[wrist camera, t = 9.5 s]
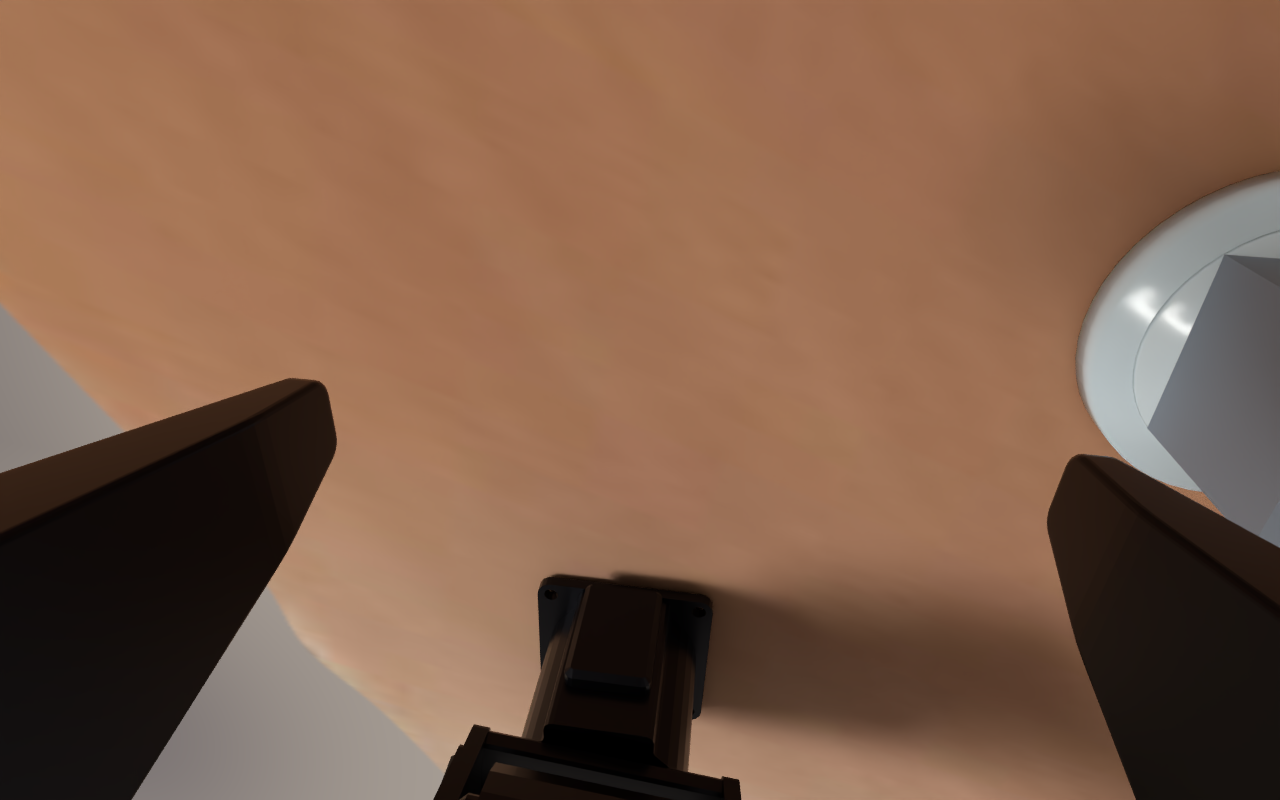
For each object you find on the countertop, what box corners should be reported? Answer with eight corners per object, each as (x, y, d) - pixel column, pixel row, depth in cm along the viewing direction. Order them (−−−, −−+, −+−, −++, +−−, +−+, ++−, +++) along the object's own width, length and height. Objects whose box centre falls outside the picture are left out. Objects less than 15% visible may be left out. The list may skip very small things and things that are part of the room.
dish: (1347, 484, 22) (1381, 514, 21) (1034, 454, 23) (1050, 480, 22) (1540, 179, 18) (1597, 194, 17) (1144, 154, 19) (1171, 167, 17)
